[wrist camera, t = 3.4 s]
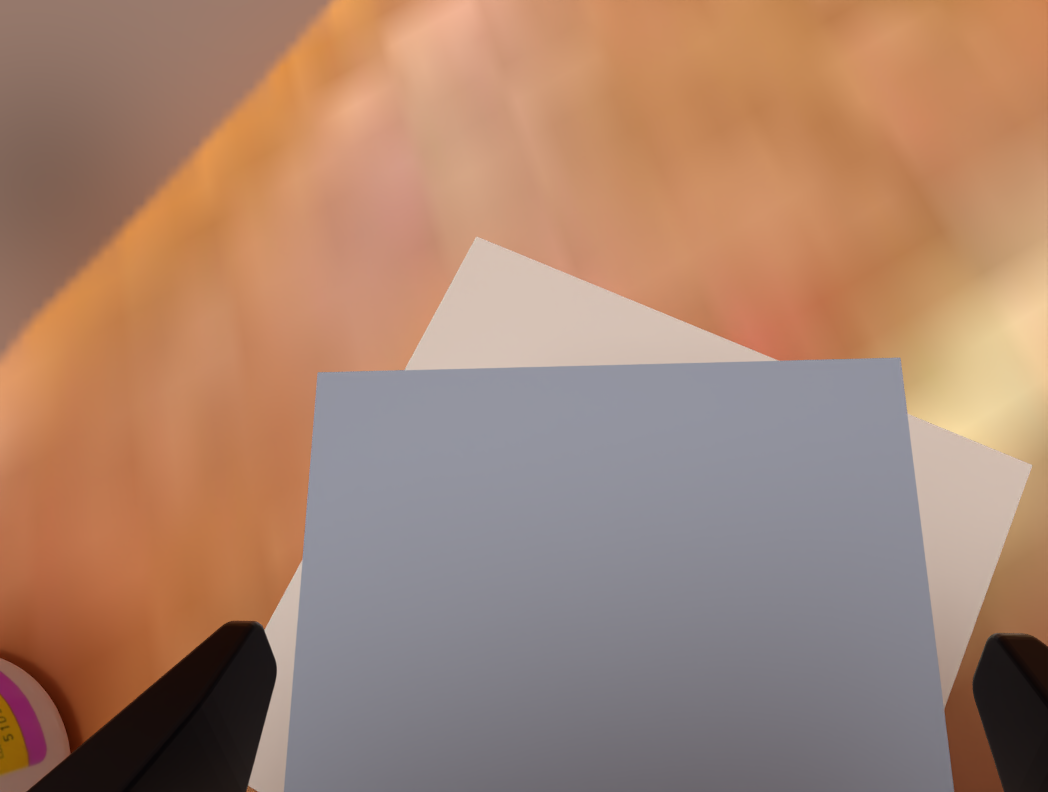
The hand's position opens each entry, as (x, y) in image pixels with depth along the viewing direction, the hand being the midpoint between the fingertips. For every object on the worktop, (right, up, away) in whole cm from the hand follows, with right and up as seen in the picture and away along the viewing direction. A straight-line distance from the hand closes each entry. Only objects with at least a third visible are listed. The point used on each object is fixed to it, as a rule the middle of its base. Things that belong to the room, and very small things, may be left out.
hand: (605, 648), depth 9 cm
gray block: (+1, -2, +7) cm, 7 cm away
